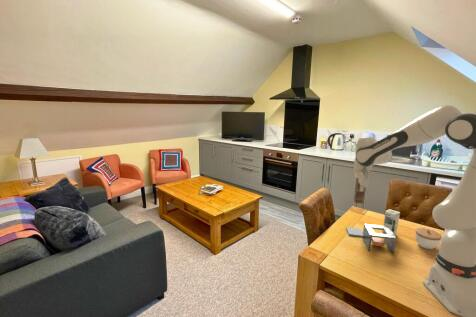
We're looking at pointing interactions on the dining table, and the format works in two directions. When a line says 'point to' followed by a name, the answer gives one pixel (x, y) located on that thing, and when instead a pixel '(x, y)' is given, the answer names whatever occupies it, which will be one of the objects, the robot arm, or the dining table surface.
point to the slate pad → (354, 232)
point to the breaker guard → (379, 236)
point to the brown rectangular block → (358, 193)
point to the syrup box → (391, 220)
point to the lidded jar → (427, 238)
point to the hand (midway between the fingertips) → (359, 189)
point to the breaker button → (377, 241)
